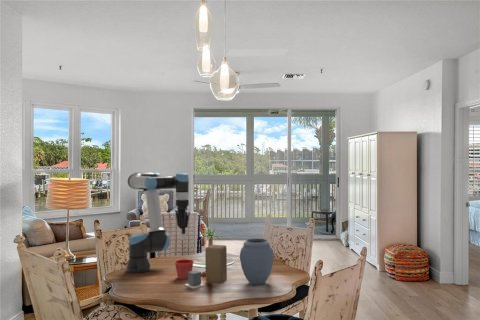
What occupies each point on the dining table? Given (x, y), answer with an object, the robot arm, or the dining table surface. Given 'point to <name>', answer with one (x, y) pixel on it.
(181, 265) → the flower pot
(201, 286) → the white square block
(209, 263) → the wooden block
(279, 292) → the dining table surface
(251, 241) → the vase
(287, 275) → the dining table surface
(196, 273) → the grey rectangular block
